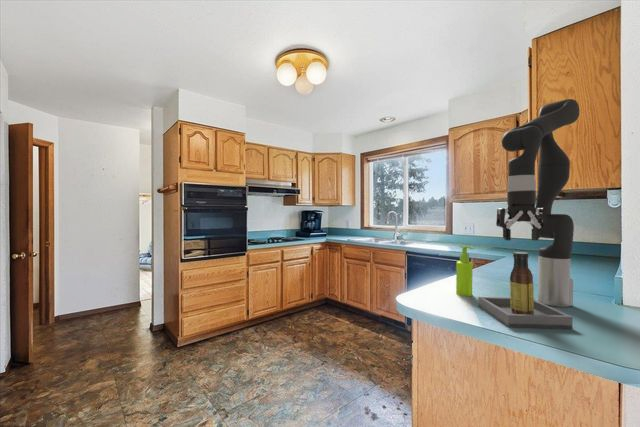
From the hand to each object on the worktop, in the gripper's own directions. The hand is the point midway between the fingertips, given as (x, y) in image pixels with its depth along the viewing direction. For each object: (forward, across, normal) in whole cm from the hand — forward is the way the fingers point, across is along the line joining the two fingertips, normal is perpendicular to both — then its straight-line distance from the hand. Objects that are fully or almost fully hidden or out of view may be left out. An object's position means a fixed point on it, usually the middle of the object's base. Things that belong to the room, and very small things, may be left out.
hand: (521, 240), depth 92 cm
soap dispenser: (+25, +7, -24) cm, 35 cm away
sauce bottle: (+24, 0, 0) cm, 24 cm away
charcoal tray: (+25, 0, 0) cm, 25 cm away
